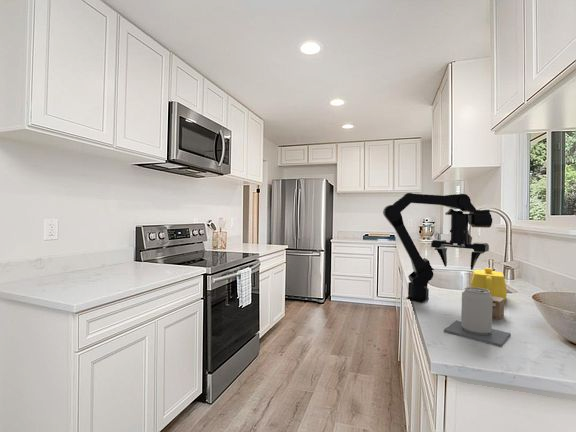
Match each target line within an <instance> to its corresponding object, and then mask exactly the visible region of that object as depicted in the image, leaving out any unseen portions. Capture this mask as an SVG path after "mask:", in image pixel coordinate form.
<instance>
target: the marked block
mask: <svg viewBox="0 0 576 432" xmlns="http://www.w3.org/2000/svg"><path fill="white" fill-rule="evenodd" d="M492 297H493V306H492V320H497V321H501V320H502V319H503V317H504V316H505V315H504V314H505V302H504V298H500V297H494V296H492Z"/></svg>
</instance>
